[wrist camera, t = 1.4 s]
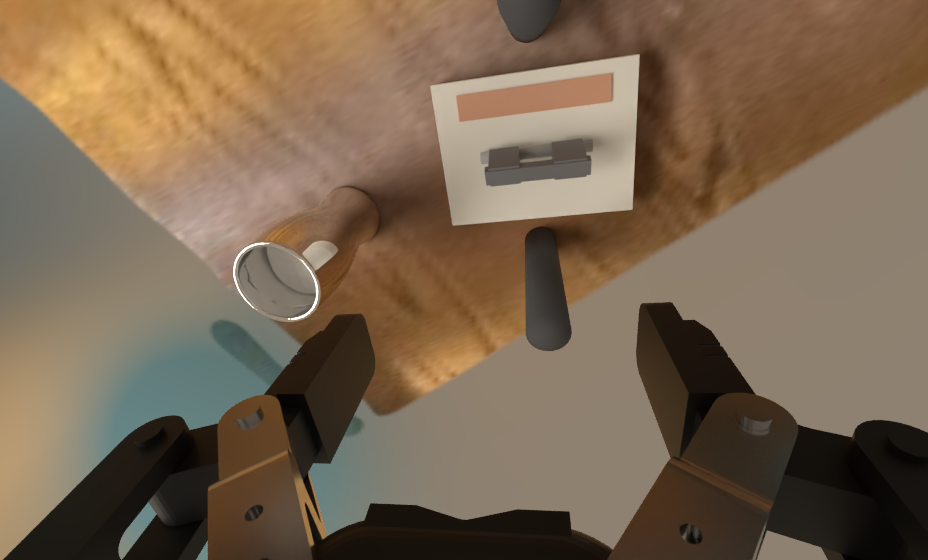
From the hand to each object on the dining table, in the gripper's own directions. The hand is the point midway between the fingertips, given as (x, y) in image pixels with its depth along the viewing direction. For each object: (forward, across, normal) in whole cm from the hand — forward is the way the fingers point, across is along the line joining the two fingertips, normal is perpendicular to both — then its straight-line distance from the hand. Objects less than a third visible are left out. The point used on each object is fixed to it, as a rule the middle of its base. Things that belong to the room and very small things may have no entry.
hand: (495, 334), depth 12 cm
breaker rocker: (+26, -2, 0) cm, 26 cm away
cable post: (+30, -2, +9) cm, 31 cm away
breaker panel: (+29, -2, 0) cm, 29 cm away
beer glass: (+30, +17, +5) cm, 35 cm away
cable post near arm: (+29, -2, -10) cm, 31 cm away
